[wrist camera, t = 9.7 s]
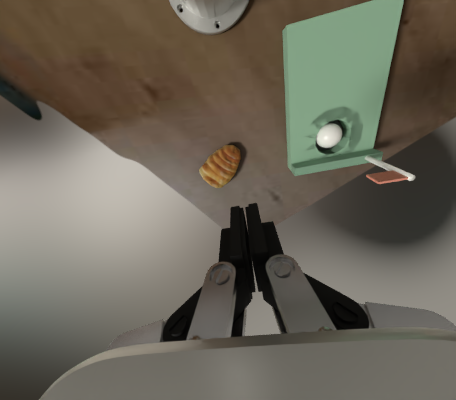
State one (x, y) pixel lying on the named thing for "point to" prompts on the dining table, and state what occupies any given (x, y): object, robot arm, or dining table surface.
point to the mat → (337, 83)
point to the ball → (329, 135)
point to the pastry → (221, 166)
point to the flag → (388, 173)
